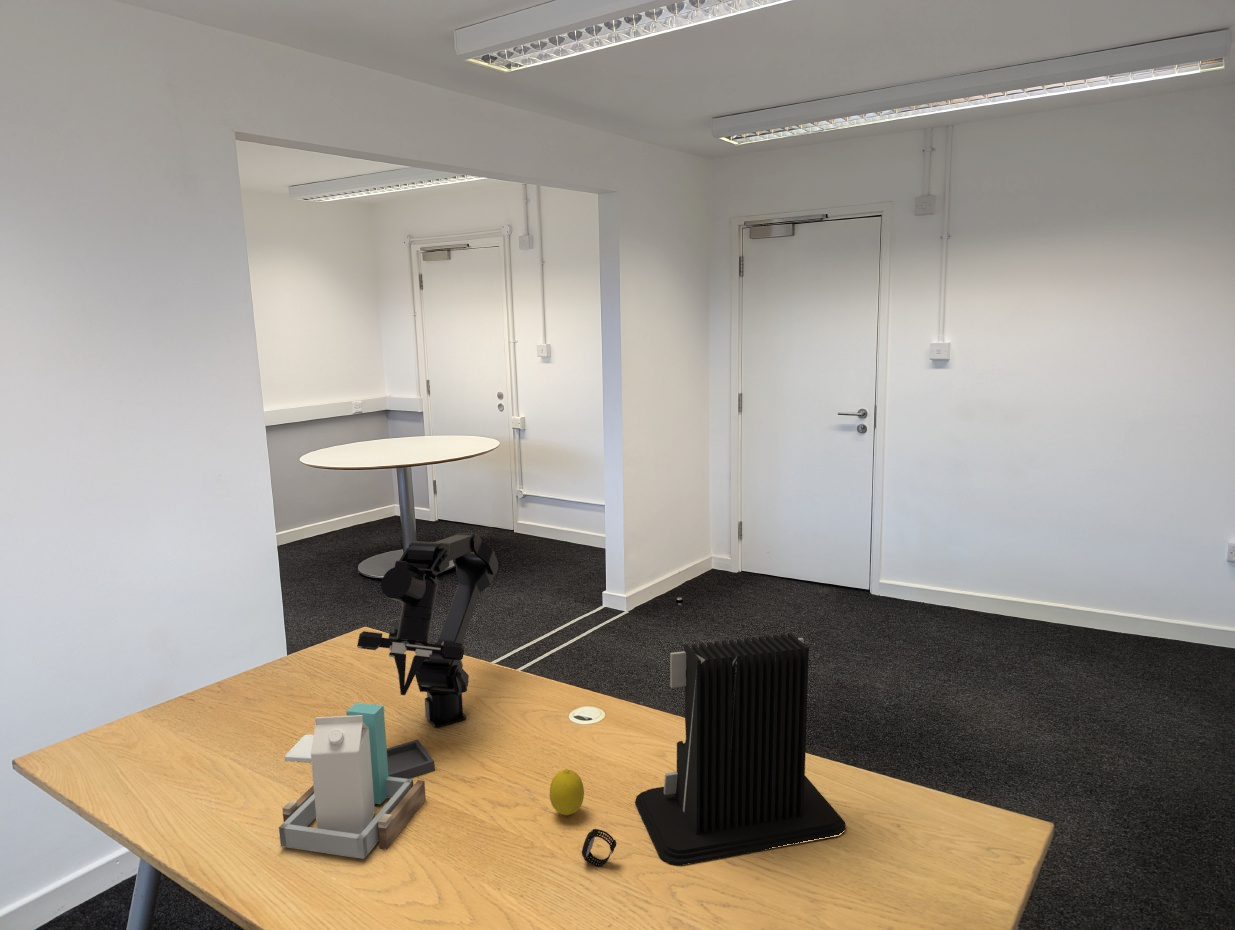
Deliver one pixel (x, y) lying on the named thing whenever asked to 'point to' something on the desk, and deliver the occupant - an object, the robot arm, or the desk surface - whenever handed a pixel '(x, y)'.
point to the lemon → (566, 792)
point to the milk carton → (342, 774)
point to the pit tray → (409, 760)
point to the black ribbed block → (738, 755)
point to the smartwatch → (589, 843)
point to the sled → (360, 845)
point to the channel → (388, 823)
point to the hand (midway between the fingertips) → (402, 695)
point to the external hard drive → (301, 750)
